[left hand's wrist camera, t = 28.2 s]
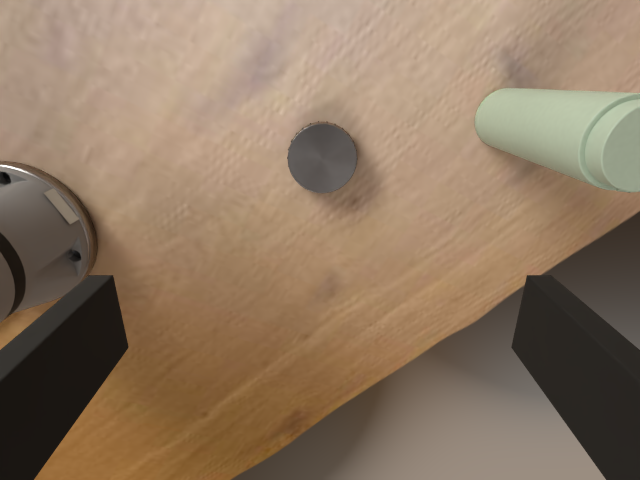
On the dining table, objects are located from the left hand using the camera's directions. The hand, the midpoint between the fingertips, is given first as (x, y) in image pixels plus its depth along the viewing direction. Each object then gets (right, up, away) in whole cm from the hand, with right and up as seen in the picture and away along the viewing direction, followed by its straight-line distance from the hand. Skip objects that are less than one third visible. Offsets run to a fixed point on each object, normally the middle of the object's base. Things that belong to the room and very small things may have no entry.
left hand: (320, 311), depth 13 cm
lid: (0, +10, +25) cm, 27 cm away
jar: (+18, +14, +25) cm, 34 cm away
